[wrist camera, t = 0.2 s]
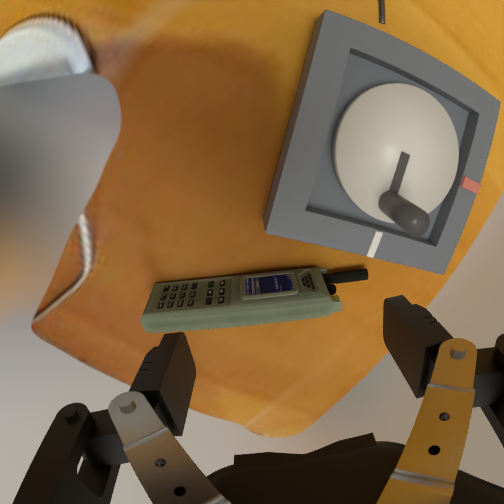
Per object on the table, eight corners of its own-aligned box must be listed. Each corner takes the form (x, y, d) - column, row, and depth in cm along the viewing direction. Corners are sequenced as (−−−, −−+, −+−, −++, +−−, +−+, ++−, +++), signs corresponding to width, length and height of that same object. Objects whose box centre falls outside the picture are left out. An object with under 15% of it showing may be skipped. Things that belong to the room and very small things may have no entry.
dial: (352, 63, 25) (386, 50, 18) (462, 116, 26) (508, 124, 19) (314, 198, 30) (335, 225, 23) (426, 231, 32) (463, 261, 25)
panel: (316, 20, 25) (326, 8, 21) (480, 100, 27) (502, 102, 23) (262, 219, 33) (265, 234, 29) (428, 259, 36) (444, 276, 32)
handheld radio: (152, 278, 36) (364, 255, 36) (159, 301, 38) (363, 279, 37) (137, 313, 30) (386, 286, 30) (147, 337, 32) (382, 312, 31)
